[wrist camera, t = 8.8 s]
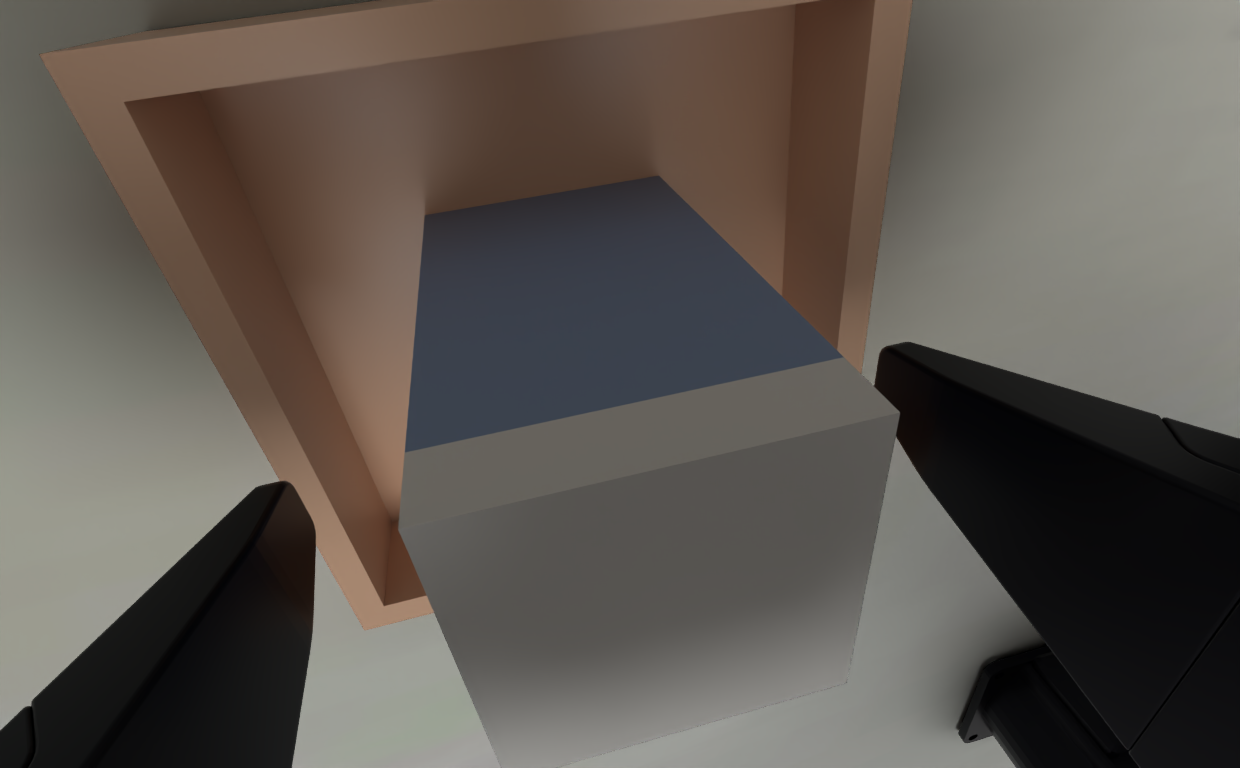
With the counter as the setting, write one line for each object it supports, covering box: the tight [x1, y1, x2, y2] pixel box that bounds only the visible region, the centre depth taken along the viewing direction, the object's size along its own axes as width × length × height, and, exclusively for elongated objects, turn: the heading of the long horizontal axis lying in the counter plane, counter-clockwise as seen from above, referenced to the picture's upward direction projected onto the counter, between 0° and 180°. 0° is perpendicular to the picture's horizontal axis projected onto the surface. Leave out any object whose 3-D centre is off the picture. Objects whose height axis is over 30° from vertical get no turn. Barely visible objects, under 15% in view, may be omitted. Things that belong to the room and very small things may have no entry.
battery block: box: [398, 176, 900, 768], centre depth 10 cm, size 4×4×8 cm
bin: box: [39, 0, 913, 630], centre depth 12 cm, size 11×11×3 cm
